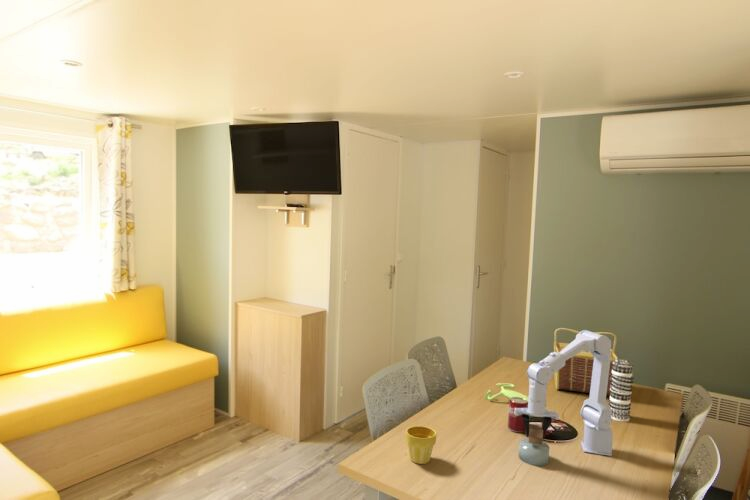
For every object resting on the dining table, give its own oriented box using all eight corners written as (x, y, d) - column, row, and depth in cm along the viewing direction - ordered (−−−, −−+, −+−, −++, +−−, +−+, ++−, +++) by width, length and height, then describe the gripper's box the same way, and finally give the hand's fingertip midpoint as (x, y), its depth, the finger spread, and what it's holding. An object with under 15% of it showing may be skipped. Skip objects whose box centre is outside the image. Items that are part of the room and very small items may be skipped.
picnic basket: (552, 393, 234) (556, 332, 232) (549, 376, 259) (553, 322, 257) (618, 401, 226) (622, 339, 224) (608, 384, 251) (612, 327, 249)
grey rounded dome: (547, 454, 171) (548, 441, 171) (549, 468, 162) (550, 454, 161) (518, 450, 174) (519, 436, 174) (519, 463, 164) (519, 449, 164)
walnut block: (540, 438, 169) (541, 424, 169) (542, 444, 165) (543, 430, 165) (527, 437, 170) (527, 423, 170) (528, 442, 166) (529, 428, 165)
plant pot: (415, 449, 171) (417, 422, 171) (440, 459, 165) (442, 431, 164) (398, 459, 163) (400, 431, 163) (424, 470, 157) (425, 441, 156)
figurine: (501, 390, 237) (501, 379, 236) (551, 407, 217) (552, 395, 216) (478, 398, 224) (479, 386, 224) (530, 417, 204) (531, 404, 204)
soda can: (513, 433, 187) (515, 404, 186) (504, 426, 194) (505, 397, 193) (530, 432, 189) (532, 402, 188) (519, 424, 196) (521, 396, 195)
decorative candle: (606, 418, 205) (610, 361, 204) (607, 411, 213) (611, 356, 212) (630, 423, 201) (635, 365, 199) (630, 416, 209) (634, 360, 208)
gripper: (557, 396, 169) (554, 434, 170) (514, 392, 172) (512, 429, 173) (560, 404, 162) (558, 443, 163) (516, 399, 165) (514, 437, 166)
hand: (534, 436), depth 167 cm, fingers closed on walnut block, 4 cm apart
